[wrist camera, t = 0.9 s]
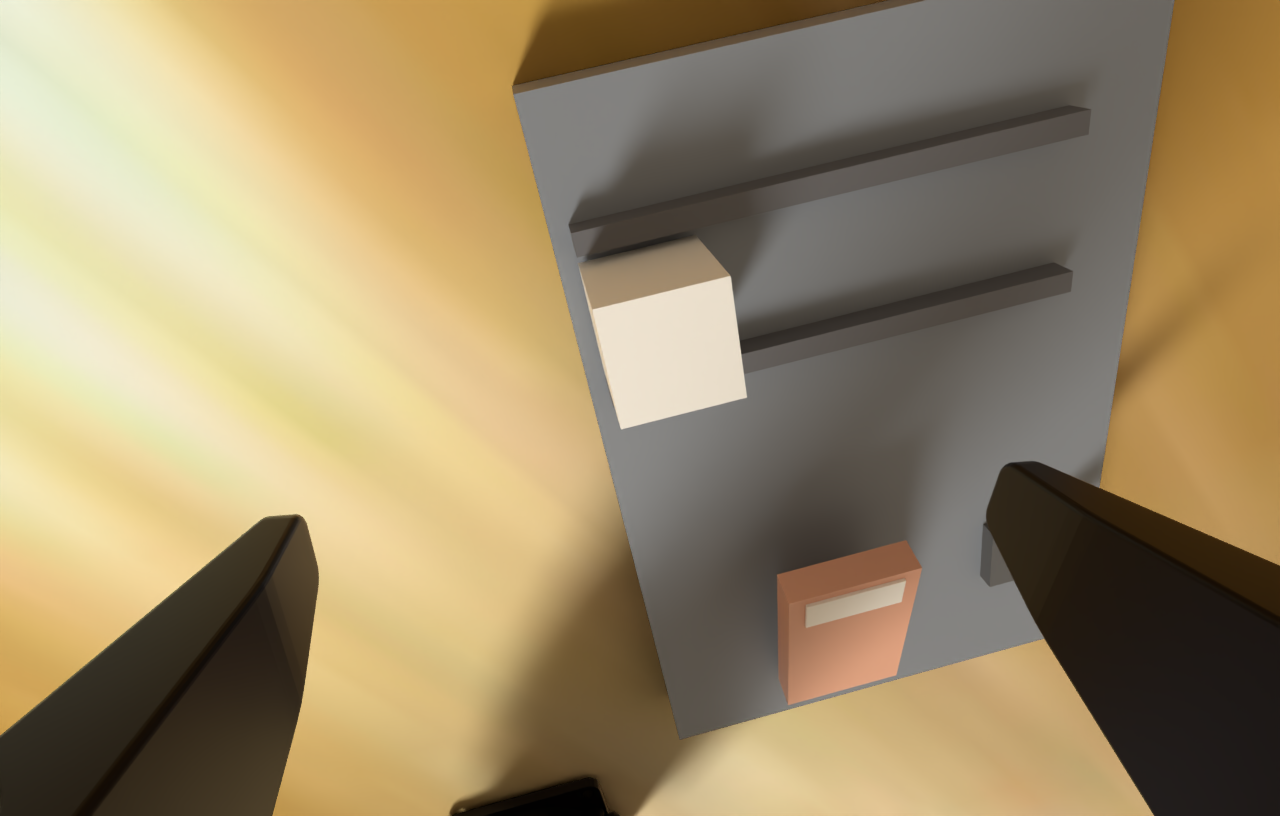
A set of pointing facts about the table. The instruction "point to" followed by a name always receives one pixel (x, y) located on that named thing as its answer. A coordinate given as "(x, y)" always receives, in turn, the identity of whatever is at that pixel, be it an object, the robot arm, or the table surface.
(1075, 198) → the switch panel
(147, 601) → the table surface
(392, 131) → the table surface
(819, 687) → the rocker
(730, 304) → the slider
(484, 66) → the table surface
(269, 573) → the robot arm
